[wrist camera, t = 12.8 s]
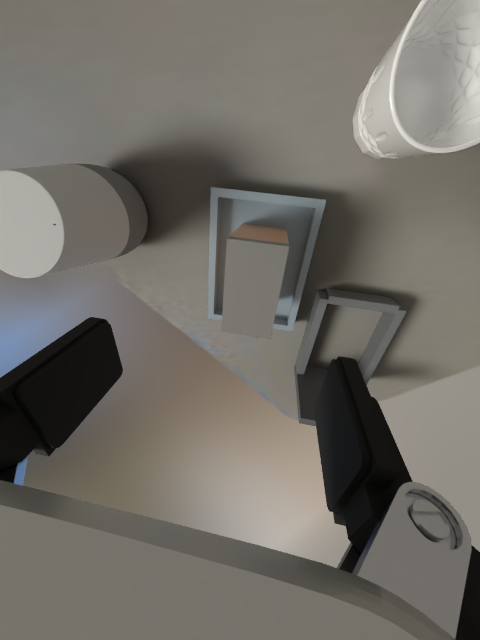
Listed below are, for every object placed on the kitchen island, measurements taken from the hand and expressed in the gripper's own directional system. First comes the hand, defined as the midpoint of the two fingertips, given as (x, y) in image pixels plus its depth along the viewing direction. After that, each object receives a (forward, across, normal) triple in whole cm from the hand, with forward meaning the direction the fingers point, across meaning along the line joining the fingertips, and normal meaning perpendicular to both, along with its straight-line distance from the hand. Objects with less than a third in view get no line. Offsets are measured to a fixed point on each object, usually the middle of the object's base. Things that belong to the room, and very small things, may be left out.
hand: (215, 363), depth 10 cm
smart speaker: (+21, +18, -2) cm, 28 cm away
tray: (+21, 0, +2) cm, 21 cm away
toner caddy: (+20, 0, +2) cm, 20 cm away
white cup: (+22, -10, -13) cm, 27 cm away
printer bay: (+21, -13, +11) cm, 27 cm away
